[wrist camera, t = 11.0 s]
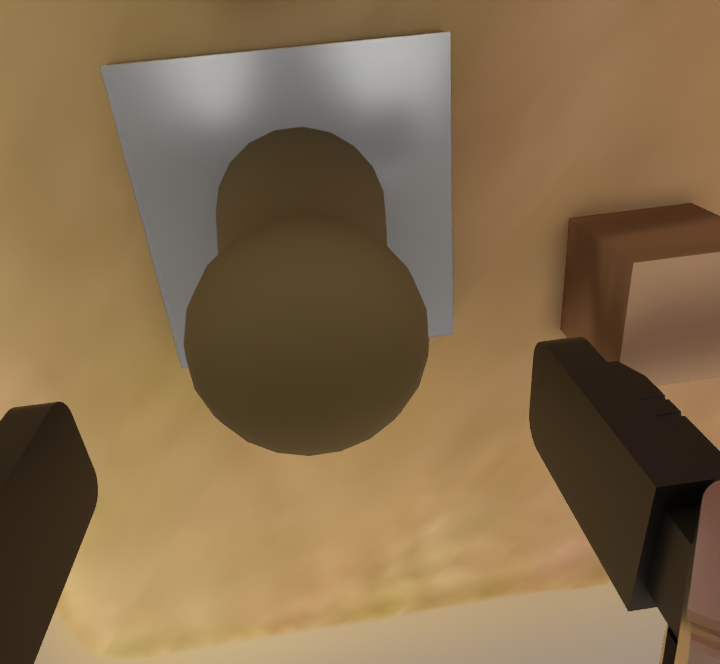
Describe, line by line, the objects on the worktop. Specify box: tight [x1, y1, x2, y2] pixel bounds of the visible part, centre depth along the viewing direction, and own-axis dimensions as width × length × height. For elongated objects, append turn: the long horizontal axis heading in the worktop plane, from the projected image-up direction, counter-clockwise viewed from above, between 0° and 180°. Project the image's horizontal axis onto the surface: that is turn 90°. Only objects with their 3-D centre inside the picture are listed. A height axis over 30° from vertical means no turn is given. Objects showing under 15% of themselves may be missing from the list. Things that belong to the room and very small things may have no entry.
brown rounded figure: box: [183, 127, 429, 456], centre depth 16 cm, size 6×6×11 cm
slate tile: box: [100, 32, 453, 368], centre depth 21 cm, size 11×11×1 cm
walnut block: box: [560, 203, 720, 386], centre depth 22 cm, size 5×5×5 cm
